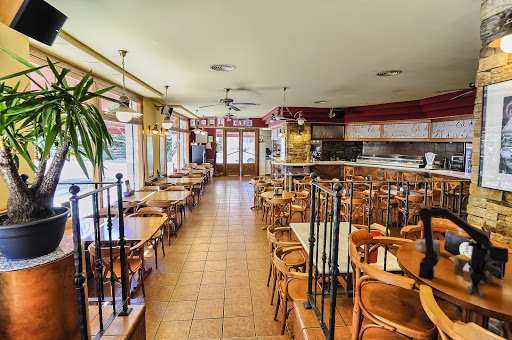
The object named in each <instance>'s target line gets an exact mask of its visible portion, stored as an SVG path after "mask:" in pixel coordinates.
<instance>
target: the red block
mask: <svg viewBox="0 0 512 340" xmlns="http://www.w3.org/2000/svg"><path fill="white" fill-rule="evenodd" d="M469 272H470V271H467V270H464V272H463V278H462V279H463V280H465V281H469V283H470V287H471V292H476V293H478V291H479V289H480V288H479V287H480V285H483V283H484V281H482V280H480V282H479V284H478V286H477V287H474V285H473V282H472V280H471V277H470V274H469Z"/></svg>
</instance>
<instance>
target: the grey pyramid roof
mask: <svg viewBox="0 0 512 340" xmlns="http://www.w3.org/2000/svg"><path fill="white" fill-rule="evenodd" d="M469 267H470V266H469V265H468V263H467V264H466V265H465V266H464V268H463V269H461V271H462V272H463V273H464V270H467V271H469Z"/></svg>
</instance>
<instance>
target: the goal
mask: <svg viewBox="0 0 512 340" xmlns="http://www.w3.org/2000/svg"><path fill="white" fill-rule="evenodd" d="M468 260H469V259H466V258H463V257H457V256H455V257H454V262H453V273H454V275H456V276H458V273H459V269H460V270H462V269H463V268H464V266H465V265H466V264H467V263H468ZM485 274H486V275H487V281H486V282H487V284H492V282H493V277H494V276H493V275H494V274H492V273H490V272H488V271H486V272H485Z"/></svg>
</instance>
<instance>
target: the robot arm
mask: <svg viewBox="0 0 512 340" xmlns="http://www.w3.org/2000/svg"><path fill="white" fill-rule="evenodd" d="M418 215H419V219H420V220H421V222H422V226H423V235H424V238H425V244H426V252H425V253H424V257H422V258H421V261H420V262H419V269H418V274H417V275H418V277H419V278H422V279H424V280H425V279H426V280H430V281H433V279H434V278H435V277H434V276H435V269H434V267H436V266H437V265H438V263H439V262H440V259H441V257H440V254H439V251H436V250H435V247H434V240H435V239H434V232H433V231H434V230H433V224H432V222H433V218H434V217H435V218H437V217H444V218H446V219H447V220H449V221H450V222H452V224H454V225H456V226H457V227H458V228H460V229H461V230H462V231H464V232H465V233H466V234H467V235H468V236H469V237H470V239H471V240H472V241H469V242H467V246H469V247H472V248H471V254H470V259H467V260H468V265H469V266H470V267H469V271H470V272H469V274H470V277H471V280H472V282H473V285H474V287H477V286H478V284H479V282H480V280H482V281H483V282H487V275H486V274H485V272H486V271H488V272H490V273H492V274H493V275H494V276H495V277H498V276H499V275H500V274H501V272H502V269H501V268H500V266H498V264H497V262H496V261H498V262H500V263H506V264H508V263H509V247H502V246H501V247H500V246H497V245H496V246H495V245H494V244H493V242H492V241H491V239H490V235H489V233H488V232H486V231H485V230H483V229H481V228H479V227H476V226H474V225H472V224H470V223H469V222H467V220H464V219H463V218H461V217H460V216H459V215H457V214H456V213H455V212H453V211H451V210H450V208H448V207H445V206H444V207H436V206H434V207H431V206H428V205H424V206H422V207H421V208H420V209H419V210H418ZM487 256H488V257H487ZM487 258H490V259H491V260H492V261H491V262H489V261H487ZM479 285H480V284H479Z"/></svg>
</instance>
